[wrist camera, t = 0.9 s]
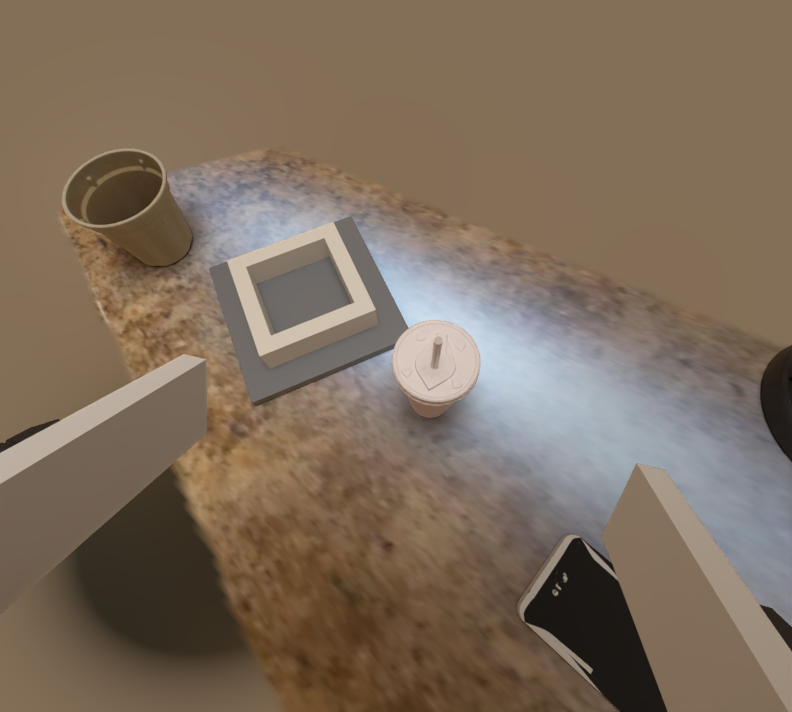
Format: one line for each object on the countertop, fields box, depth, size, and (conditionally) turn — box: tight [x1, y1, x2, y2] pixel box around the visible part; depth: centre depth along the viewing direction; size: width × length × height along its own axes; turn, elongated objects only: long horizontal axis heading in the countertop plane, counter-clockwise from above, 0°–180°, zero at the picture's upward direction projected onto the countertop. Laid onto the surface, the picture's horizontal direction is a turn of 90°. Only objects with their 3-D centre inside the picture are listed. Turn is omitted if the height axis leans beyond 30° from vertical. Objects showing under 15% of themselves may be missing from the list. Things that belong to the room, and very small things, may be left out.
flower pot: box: [62, 148, 192, 266], centre depth 42 cm, size 9×9×9 cm
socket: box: [209, 216, 409, 406], centre depth 40 cm, size 16×16×4 cm
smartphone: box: [517, 534, 668, 712], centre depth 30 cm, size 8×1×15 cm
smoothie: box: [391, 320, 481, 418], centre depth 32 cm, size 6×6×14 cm
